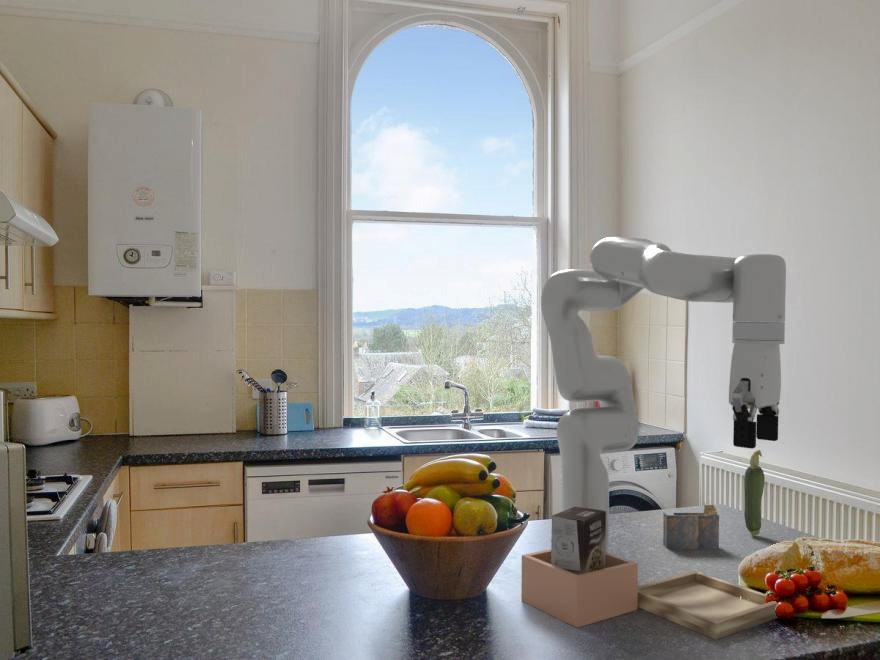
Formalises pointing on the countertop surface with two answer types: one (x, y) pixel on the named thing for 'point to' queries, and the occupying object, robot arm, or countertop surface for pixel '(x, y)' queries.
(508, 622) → the countertop surface
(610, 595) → the square storage bin
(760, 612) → the tray
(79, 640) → the countertop surface
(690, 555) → the countertop surface
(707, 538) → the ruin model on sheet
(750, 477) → the vegetable
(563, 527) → the coffee box
